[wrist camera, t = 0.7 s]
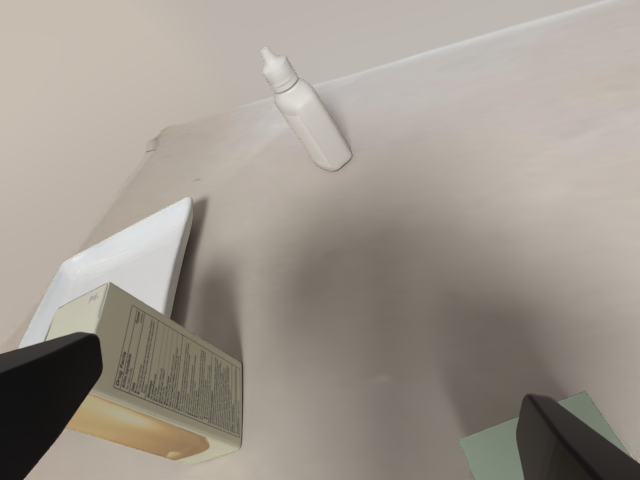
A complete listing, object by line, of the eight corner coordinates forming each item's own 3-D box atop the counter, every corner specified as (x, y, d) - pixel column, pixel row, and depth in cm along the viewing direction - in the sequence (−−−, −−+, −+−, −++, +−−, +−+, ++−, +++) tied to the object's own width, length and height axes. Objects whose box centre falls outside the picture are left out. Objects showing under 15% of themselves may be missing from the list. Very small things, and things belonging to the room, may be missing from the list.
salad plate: (4, 451, 39) (-34, 442, 36) (81, 274, 53) (58, 259, 51) (179, 397, 32) (146, 381, 30) (213, 211, 47) (192, 191, 44)
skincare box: (197, 380, 32) (55, 303, 24) (244, 361, 31) (111, 274, 23) (188, 472, 27) (7, 415, 19) (242, 454, 26) (74, 386, 18)
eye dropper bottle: (313, 183, 40) (237, 78, 32) (312, 148, 44) (245, 47, 36) (354, 165, 38) (286, 50, 31) (350, 131, 42) (288, 21, 34)
